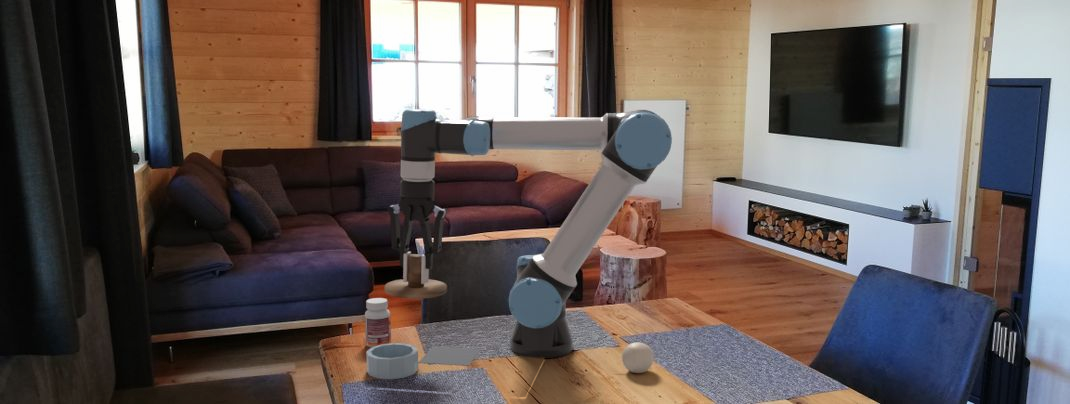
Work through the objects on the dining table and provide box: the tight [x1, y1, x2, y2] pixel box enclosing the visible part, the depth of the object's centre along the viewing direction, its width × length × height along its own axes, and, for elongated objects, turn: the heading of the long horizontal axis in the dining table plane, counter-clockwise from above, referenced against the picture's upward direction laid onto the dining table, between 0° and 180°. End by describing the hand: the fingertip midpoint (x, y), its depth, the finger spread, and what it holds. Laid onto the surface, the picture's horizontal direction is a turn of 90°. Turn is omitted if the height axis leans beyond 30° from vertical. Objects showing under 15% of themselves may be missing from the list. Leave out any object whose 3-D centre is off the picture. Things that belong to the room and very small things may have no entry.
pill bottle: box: [364, 297, 392, 348], centre depth 210 cm, size 6×6×11 cm
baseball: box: [621, 341, 654, 374], centre depth 191 cm, size 7×7×7 cm
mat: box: [418, 345, 482, 367], centre depth 201 cm, size 12×12×1 cm
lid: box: [384, 253, 448, 300], centre depth 194 cm, size 14×14×8 cm
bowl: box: [365, 342, 419, 380], centre depth 191 cm, size 11×11×5 cm
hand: (415, 281), depth 194 cm, fingers closed on lid, 4 cm apart
